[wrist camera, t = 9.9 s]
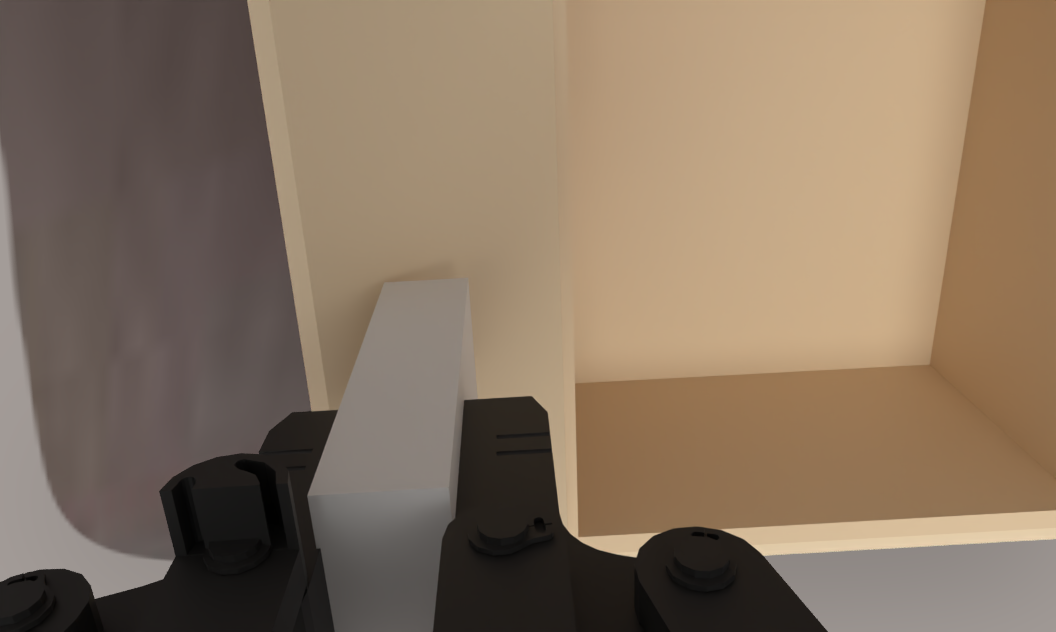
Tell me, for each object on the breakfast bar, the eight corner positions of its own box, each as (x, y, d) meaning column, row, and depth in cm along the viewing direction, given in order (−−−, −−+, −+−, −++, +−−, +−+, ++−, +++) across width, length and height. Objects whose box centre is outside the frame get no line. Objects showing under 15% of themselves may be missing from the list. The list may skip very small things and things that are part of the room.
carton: (518, -146, 26) (531, -209, 17) (1020, -167, 26) (1305, -241, 17) (540, 409, 33) (558, 577, 24) (932, 387, 34) (1099, 546, 24)
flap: (567, 548, 22) (376, 728, 17) (552, 541, 23) (360, 717, 18) (549, -128, 16) (245, -157, 11) (528, -125, 17) (222, -152, 12)
